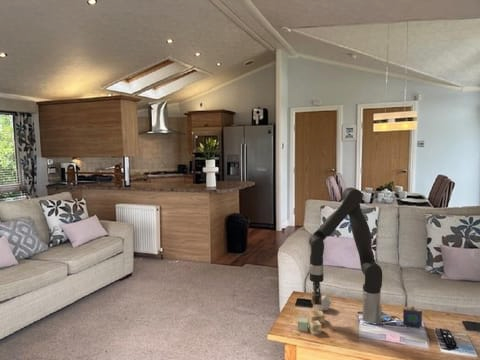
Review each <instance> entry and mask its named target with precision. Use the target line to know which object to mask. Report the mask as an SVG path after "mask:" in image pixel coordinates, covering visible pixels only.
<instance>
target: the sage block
mask: <svg viewBox="0 0 480 360" xmlns="http://www.w3.org/2000/svg"><path fill="white" fill-rule="evenodd" d="M308 330H309V317H308V318H307V317H298V320H297V331H298V332H305V331H306V332H305V333H307V332H308Z"/></svg>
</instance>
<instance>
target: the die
mask: <svg viewBox="0 0 480 360" xmlns="http://www.w3.org/2000/svg"><path fill="white" fill-rule="evenodd" d="M321 296H322V305H315V306H316V308H317V311H322V312H323V311H328V310H329V309H330V306H331V304H332V303H331V301H330V299H329V298H328V296H327V295H322V294H321Z"/></svg>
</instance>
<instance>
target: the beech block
mask: <svg viewBox="0 0 480 360" xmlns="http://www.w3.org/2000/svg"><path fill="white" fill-rule="evenodd" d="M308 330H309V332H310V334H311V336H315V334H317V335H322V325H321V324H320V322H319V321H318V320H317V321H310V320H308Z"/></svg>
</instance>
